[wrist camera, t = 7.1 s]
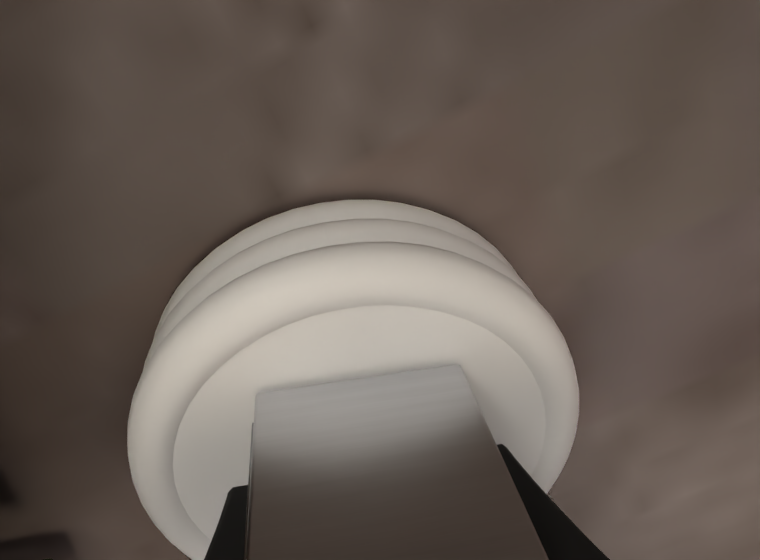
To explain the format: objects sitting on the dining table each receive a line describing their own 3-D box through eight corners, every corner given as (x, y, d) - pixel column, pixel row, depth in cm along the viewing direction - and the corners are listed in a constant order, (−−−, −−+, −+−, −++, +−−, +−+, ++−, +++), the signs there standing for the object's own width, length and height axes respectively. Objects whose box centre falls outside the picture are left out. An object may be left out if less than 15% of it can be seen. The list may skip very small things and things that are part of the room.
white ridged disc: (92, 232, 12) (29, 320, 9) (531, 157, 13) (608, 214, 10) (214, 526, 17) (201, 645, 14) (527, 459, 18) (577, 559, 15)
